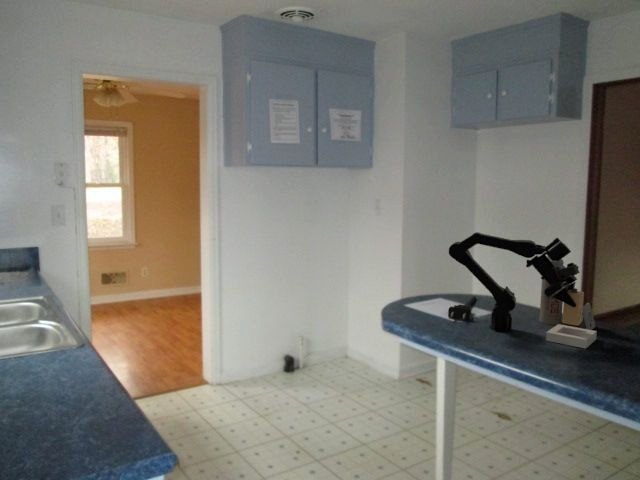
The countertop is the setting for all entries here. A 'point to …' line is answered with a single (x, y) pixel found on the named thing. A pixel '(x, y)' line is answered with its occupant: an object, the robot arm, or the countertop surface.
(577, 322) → the plug
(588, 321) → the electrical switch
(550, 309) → the thermos bottle
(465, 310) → the electrical plug
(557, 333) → the socket block
